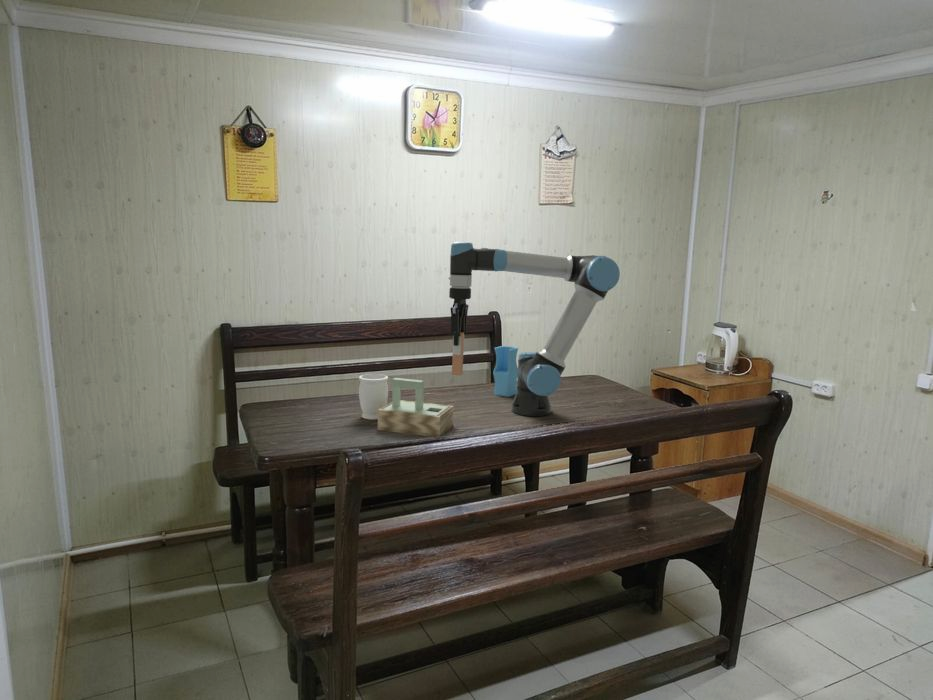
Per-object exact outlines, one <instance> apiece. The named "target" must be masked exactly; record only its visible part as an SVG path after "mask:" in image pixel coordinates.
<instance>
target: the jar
mask: <svg viewBox="0 0 933 700" xmlns="http://www.w3.org/2000/svg"><path fill="white" fill-rule="evenodd" d="M358 380H359V381H360V383H359V386H358V399H359V404H360V408H361V412H362V414H361V418H363V419H365V420H372V421H373V420H374V421H376V420H378V409H380V408H382V407H383V406H385V405H387V404H388V399H389V386H388V380H389V376H388V375H386V374H380V373H378V374H377V373H366V374H361V375H359V376H358Z"/></svg>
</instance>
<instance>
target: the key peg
mask: <svg viewBox="0 0 933 700" xmlns="http://www.w3.org/2000/svg"><path fill="white" fill-rule="evenodd" d="M460 336H461V355H454V354H453V353H452V360H451V361H452V364H451V365H452V368H451V374H452V375H451V376H461V375H463V372H464V353H463V348H464V349H465V335H464V332H460Z"/></svg>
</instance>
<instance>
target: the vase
mask: <svg viewBox="0 0 933 700" xmlns="http://www.w3.org/2000/svg"><path fill="white" fill-rule="evenodd" d="M494 352H495V358H496V359H495V360H496V361H495V365H494V369H493V372H492V374H493V379H494V390H493V395H496V396H499V397H501V396H502V397H506V398H507V397H508V398H509V397H512V396H515V395H516V392H517V380H518V363H517V357H518V356H517V355H518V352H519V347H516V346H508V345H500V346H497V347H494Z"/></svg>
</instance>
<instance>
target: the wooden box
mask: <svg viewBox="0 0 933 700" xmlns="http://www.w3.org/2000/svg"><path fill="white" fill-rule="evenodd" d="M400 401H405V402H414V403H415V400H414V401H413V400H403V399H400ZM391 404H392V401H390V402H389V403H387V405H385V406H383V407H382V408H380V409H378V419H377V430H378V431H385V432H393V433H401V434H409V435H415V436H416V435H418V436H424V437H430V438H431V437H433V438H440V437H441V436H443V434H445V433H446V432H447V431H449V429H450V428H452V427H453V426H454V408H455V407H454V405H449V404H448V405H447V404H440V403H438V404H437V403H431V402H423V404H431V405H440V406H449V408H447V409H446V410H445V411H443V412H442V413H441V414H439V415H438V416H434V415H425V414H417V413H409V412H400V411H392V410H383V409H384V408H386V407H388V406H389V405H391ZM430 411H431V412H439V411H432V410H430Z"/></svg>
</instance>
